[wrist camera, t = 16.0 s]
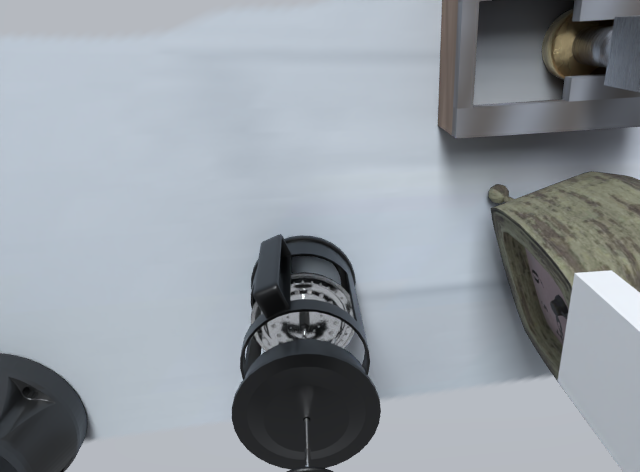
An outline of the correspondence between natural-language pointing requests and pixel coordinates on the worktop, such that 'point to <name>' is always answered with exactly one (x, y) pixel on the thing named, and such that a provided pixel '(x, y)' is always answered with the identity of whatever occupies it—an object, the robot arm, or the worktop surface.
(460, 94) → the keyhole block
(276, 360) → the french press
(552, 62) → the headed peg
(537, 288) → the tabletop clock
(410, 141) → the worktop surface
